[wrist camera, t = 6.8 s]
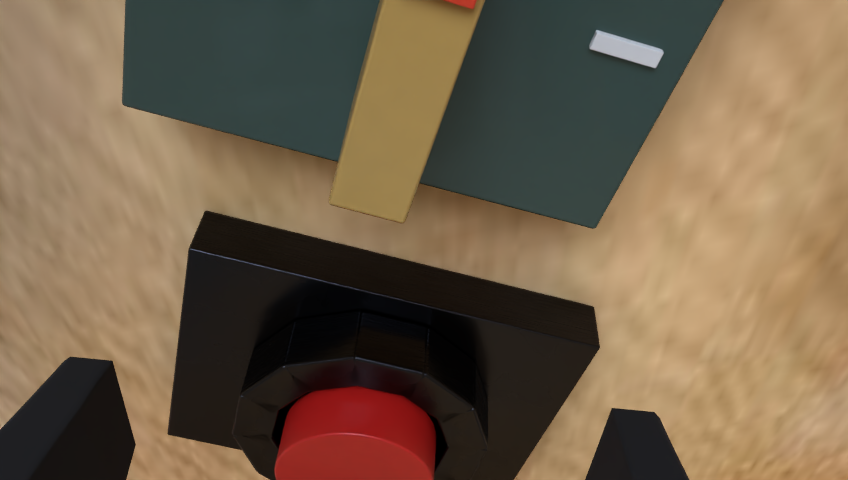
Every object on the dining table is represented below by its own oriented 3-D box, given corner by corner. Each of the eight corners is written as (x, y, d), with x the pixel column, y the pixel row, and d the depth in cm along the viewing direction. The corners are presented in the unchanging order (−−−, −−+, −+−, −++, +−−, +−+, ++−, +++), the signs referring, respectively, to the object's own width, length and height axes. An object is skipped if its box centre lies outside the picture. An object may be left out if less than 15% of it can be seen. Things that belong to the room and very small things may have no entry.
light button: (274, 457, 25) (263, 506, 24) (299, 368, 22) (287, 419, 21) (413, 486, 26) (410, 536, 25) (455, 403, 23) (453, 455, 22)
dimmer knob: (417, 117, 17) (403, 234, 14) (353, 98, 17) (325, 214, 14) (507, -151, 13) (513, -69, 10) (427, -178, 13) (410, -102, 10)
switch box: (181, 395, 29) (150, 481, 26) (205, 209, 23) (168, 295, 20) (497, 464, 30) (499, 551, 28) (594, 306, 24) (607, 397, 22)
